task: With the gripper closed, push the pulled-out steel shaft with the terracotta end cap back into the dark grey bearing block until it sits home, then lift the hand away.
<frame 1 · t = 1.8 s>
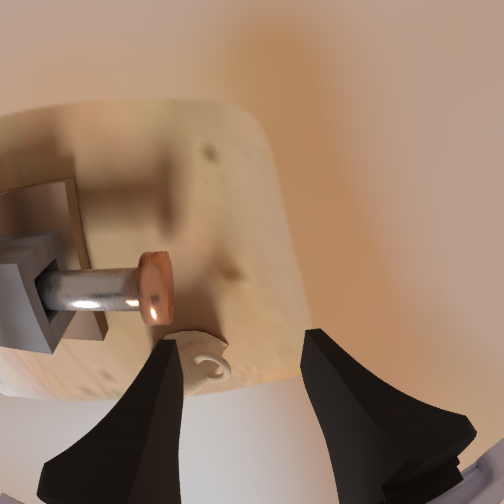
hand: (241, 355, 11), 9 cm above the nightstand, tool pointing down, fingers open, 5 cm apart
shaft: (80, 290, 14), point 4 cm above the nightstand, slide at 5.0 cm
cream ribbed curved piece: (189, 347, 22), on the nightstand
housing: (33, 264, 17), on the nightstand
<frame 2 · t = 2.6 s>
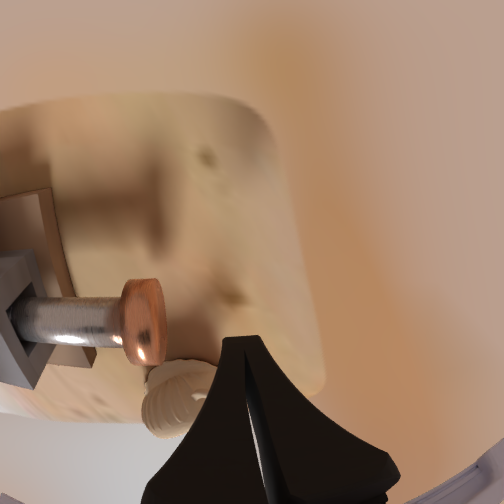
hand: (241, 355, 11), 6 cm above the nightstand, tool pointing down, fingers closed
shaft: (58, 320, 12), point 4 cm above the nightstand, slide at 5.0 cm
cream ribbed curved piece: (186, 374, 20), on the nightstand
housing: (12, 283, 14), on the nightstand
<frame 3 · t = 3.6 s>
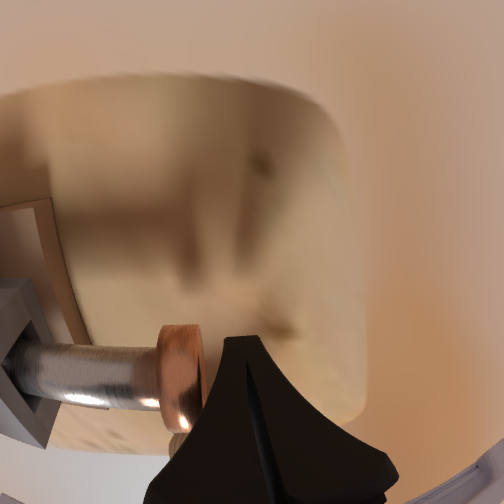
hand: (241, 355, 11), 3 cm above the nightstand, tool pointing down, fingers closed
shaft: (67, 373, 9), point 4 cm above the nightstand, slide at 4.9 cm, touching gripper
housing: (8, 311, 12), on the nightstand
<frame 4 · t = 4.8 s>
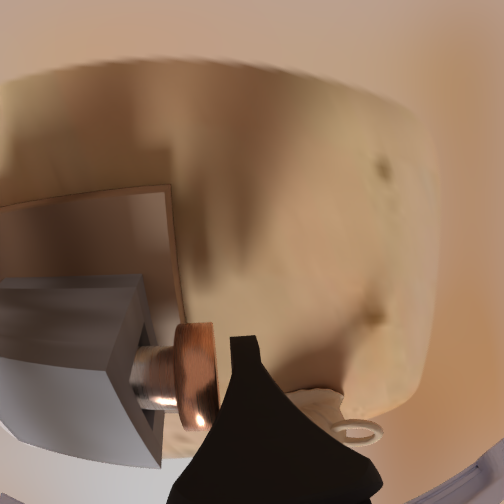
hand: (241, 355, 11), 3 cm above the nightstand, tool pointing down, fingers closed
shaft: (78, 373, 9), point 4 cm above the nightstand, slide at -0.1 cm, touching gripper
cream ribbed curved piece: (298, 403, 17), on the nightstand
housing: (80, 315, 12), on the nightstand
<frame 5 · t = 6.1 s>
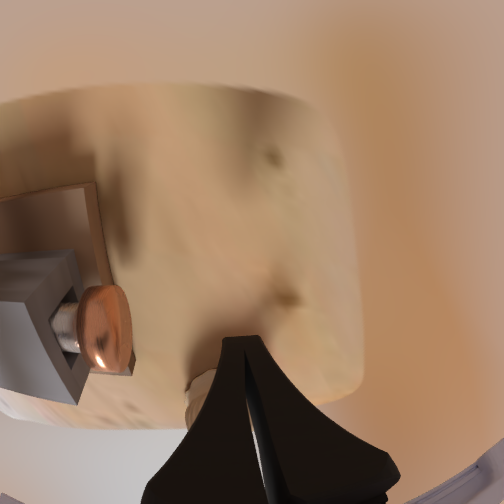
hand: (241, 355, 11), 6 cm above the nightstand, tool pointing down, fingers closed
shaft: (29, 324, 11), point 4 cm above the nightstand, slide at 0.0 cm
cream ribbed curved piece: (230, 382, 20), on the nightstand
housing: (41, 286, 14), on the nightstand
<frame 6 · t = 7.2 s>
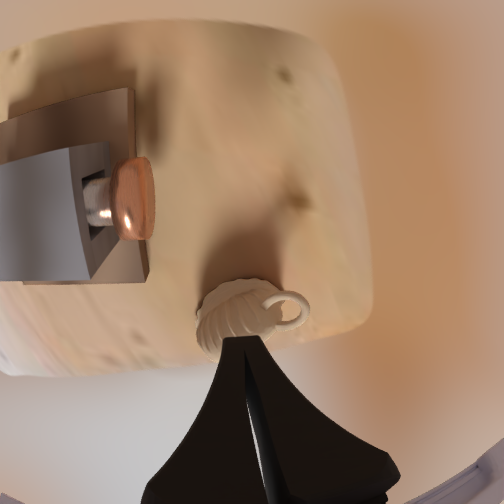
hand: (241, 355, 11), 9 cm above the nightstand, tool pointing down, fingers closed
shaft: (53, 208, 12), point 4 cm above the nightstand, slide at 0.0 cm
cream ribbed curved piece: (242, 301, 21), on the nightstand
housing: (64, 194, 16), on the nightstand
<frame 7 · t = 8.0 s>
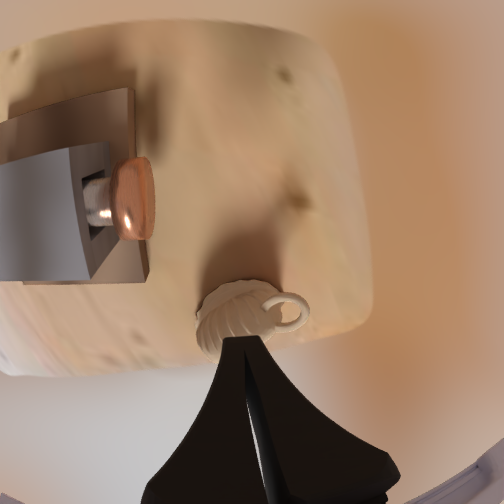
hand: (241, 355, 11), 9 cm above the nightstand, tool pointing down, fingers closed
shaft: (53, 208, 12), point 4 cm above the nightstand, slide at 0.0 cm
cream ribbed curved piece: (241, 302, 21), on the nightstand
housing: (64, 194, 16), on the nightstand
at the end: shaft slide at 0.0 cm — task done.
